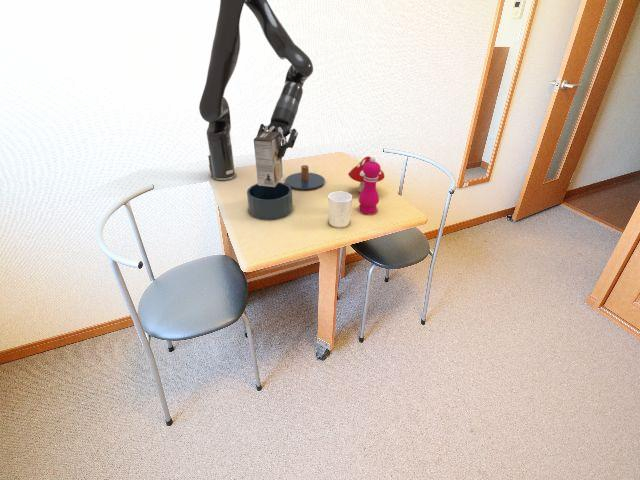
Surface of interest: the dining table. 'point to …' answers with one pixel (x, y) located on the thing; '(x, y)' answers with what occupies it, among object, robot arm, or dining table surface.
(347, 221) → the white cup
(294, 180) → the pot lid
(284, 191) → the pot
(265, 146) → the coffee box
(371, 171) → the pepper mill
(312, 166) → the dining table surface
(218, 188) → the dining table surface
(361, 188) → the decorative mushroom
